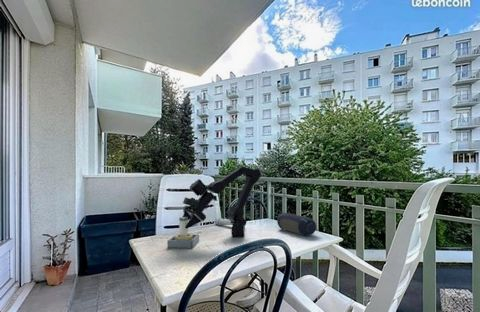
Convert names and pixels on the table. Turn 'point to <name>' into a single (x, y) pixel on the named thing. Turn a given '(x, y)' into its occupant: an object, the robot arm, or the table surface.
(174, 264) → the table surface
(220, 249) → the table surface
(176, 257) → the table surface
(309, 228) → the portable speaker
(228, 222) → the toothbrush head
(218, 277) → the table surface
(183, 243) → the walled box
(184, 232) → the cream and grey cylinder
